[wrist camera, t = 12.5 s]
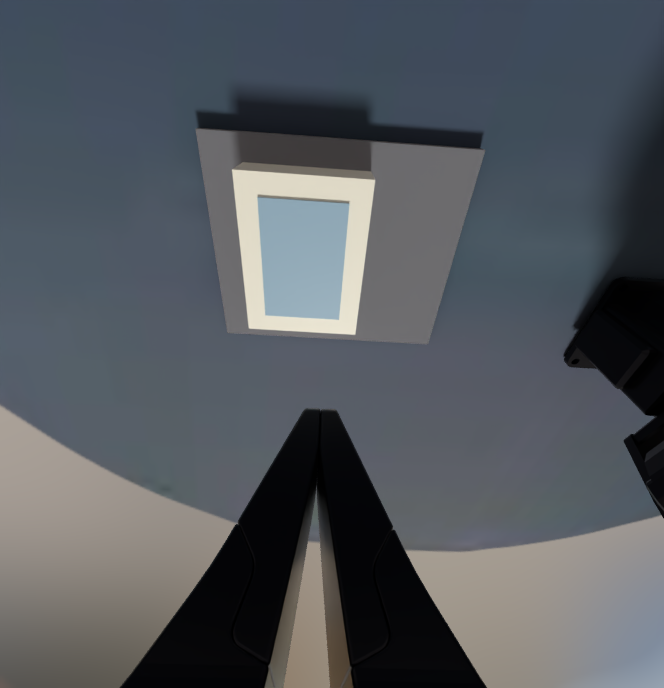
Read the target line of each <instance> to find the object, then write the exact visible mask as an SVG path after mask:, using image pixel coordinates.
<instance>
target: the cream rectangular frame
mask: <svg viewBox="0 0 664 688" xmlns="http://www.w3.org/2000/svg"><path fill="white" fill-rule="evenodd" d="M232 175H233V184H234V193H235V203H236V212H237V222H238V231H239V241H240V250H241V259H242V269H243V278H244V288H245V297H246V307H247V316H248V326H249V329H264V330H281V331H298V332H315V333H332V334H350V335H355V333H356V325H357V317H358V310H359V302H360V294H361V286H362V279H363V271H364V263H365V256H366V248H367V240H368V232H369V225H370V217H371V209H372V202H373V194H374V186H375V178H374V176H373V174H372V172H371V171H358V170H344V169H330V168H317V167H303V166H289V165H276V164H262V163H248V162H242V163H241V164H239V165H238V166H236V167H235V168H233V169H232Z"/></svg>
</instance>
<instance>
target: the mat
mask: <svg viewBox="0 0 664 688" xmlns="http://www.w3.org/2000/svg"><path fill="white" fill-rule="evenodd" d="M196 135H197V141H198V147H199V154H200V160H201V167H202V173H203V179H204V186H205V192H206V199H207V205H208V211H209V218H210V224H211V231H212V237H213V243H214V250H215V256H216V263H217V269H218V275H219V282H220V288H221V295H222V301H223V307H224V314H225V320H226V327H227V333H238V334H256V335H273V336H291V337H309V338H326V339H344V340H362V341H379V342H397V343H415V344H428V342H429V339H430V336H431V332H432V329H433V325H434V322H435V319H436V315H437V312H438V309H439V305H440V302H441V298H442V295H443V292H444V288H445V285H446V281H447V278H448V275H449V271H450V268H451V265H452V261H453V258H454V254H455V251H456V248H457V244H458V241H459V238H460V234H461V231H462V227H463V224H464V221H465V217H466V214H467V211H468V207H469V204H470V200H471V197H472V194H473V190H474V187H475V184H476V180H477V177H478V173H479V170H480V167H481V163H482V160H483V156H484V153H485V150H483V149H479V148H466V147H452V146H439V145H425V144H412V143H398V142H385V141H371V140H358V139H345V138H331V137H318V136H304V135H291V134H277V133H264V132H250V131H237V130H223V129H210V128H197V129H196ZM242 162H248V163H262V164H276V165H289V166H303V167H317V168H330V169H344V170H358V171H371V172H372V174H373V176H374V178H375V186H374V194H373V202H372V209H371V217H370V225H369V232H368V240H367V248H366V256H365V263H364V271H363V279H362V286H361V294H360V302H359V310H358V317H357V325H356V333H355V335H350V334H332V333H315V332H298V331H281V330H264V329H249V326H248V316H247V307H246V297H245V288H244V278H243V269H242V259H241V250H240V241H239V231H238V222H237V212H236V203H235V193H234V184H233V175H232V169H233V168H235V167H236V166H238V165H239V164H241V163H242Z"/></svg>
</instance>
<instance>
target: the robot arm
mask: <svg viewBox="0 0 664 688" xmlns="http://www.w3.org/2000/svg"><path fill="white" fill-rule="evenodd" d="M622 285H623V286H622ZM621 286H622V287H621ZM620 287H621V288H620ZM564 362H565V363H566V364H567V365H568V366H569V367H577V368H595V369H598V370H599V371H600V372H601V373H602V374H603V375H604V376H605V377H606V378H607V379H608V380H609V381H610V382H611V383H612V384H613V386H614V387H616V388H617V389H620V390H621V391H622V392H623V393H624V394H625V395H626V396H627V397H628V398H629V399H630V400H631V401H632V402H633V403H634V404H635V405H636V406H637V407H638V408H639V409H640V410H641V411H642V412H643V413H644V414H645V415H649V416H654V417H655V418H654V419H652V420H651V421H650V422H649V423H647V424H646V425H645V426H644V427H642V428H641V429H640V430H639V431H637V432H636V433H635V434H631V435H629V436H628V437H627V438H626V439H624V443H625V445H626V447H627V449H628V451H629V453H630V455H631V457H632V459H633V461H634V463H635V465H636V467H637V469H638V471H639V473H640V475H641V477H642V479H643V481H644V483H645V485H646V487H647V489H648V491H649V493H650V495H651V497H652V499H653V501H654V503H655V505H656V506H657V508H658V510H659V511H660V513H661V515H662V517H663V518H664V280H659V279H644V278H628V277H622V278H618V279H616V280H615V281H613V282H612V283H611V285H610V286H609V288H608V289H607V291H606V293H605V294H604V296H603V297H602V299H601V301H600V302H599V304H598V305H597V307H596V309H595V310H594V312H593V313H592V315H591V317H590V318H589V320H588V321H587V323H586V325H585V326H584V328H583V329H582V331H581V333H580V334H579V336H578V337H577V339H576V340H575V342H574V344H573V345H572V347H571V348H570V350H569V352H568V353H567V355H566V356H565V358H564ZM317 470H318V471H317ZM316 486H317V505H318V520H319V534H320V548H321V562H322V577H323V591H324V604H325V620H326V634H327V648H328V663H329V677H330V688H487V687H486V685H485V684H484V682H483V681H482V679H481V678H480V676H479V675H478V673H477V672H476V670H475V668H474V667H473V665H472V663H471V662H470V660H469V659H468V657H467V655H466V654H465V652H464V650H463V649H462V647H461V646H460V644H459V642H458V641H457V639H456V637H455V636H454V634H453V633H452V631H451V629H450V628H449V626H448V624H447V623H446V622H445V620H444V618H443V617H442V615H441V613H440V612H439V610H438V608H437V607H436V605H435V604H434V602H433V600H432V598H431V597H430V595H429V594H428V592H427V590H426V588H425V586H424V585H423V583H422V581H421V580H420V578H419V576H418V575H417V573H416V571H415V569H414V567H413V565H412V563H411V562H410V559H409V558H408V556H407V554H406V552H405V550H404V548H403V546H402V544H401V542H400V540H399V538H398V536H397V533H396V531H395V530H392V529H393V526H392V523H391V521H390V519H389V517H388V515H387V513H386V511H385V509H384V507H383V505H382V503H381V501H380V499H379V497H378V495H377V492H376V490H375V488H374V486H373V484H372V482H371V480H370V478H369V476H368V474H367V472H366V470H365V468H364V466H363V464H362V462H361V459H360V457H359V455H358V453H357V451H356V449H355V447H354V445H353V443H352V441H351V439H350V437H349V435H348V433H347V431H346V428H345V426H344V424H343V422H342V420H341V418H340V416H339V414H338V412H337V411H336V410H335V409H322V410H321V414H320V409H318V408H306V409H305V410H304V411H303V412H302V414H301V416H300V417H299V419H298V421H297V423H296V424H295V426H294V428H293V429H292V431H291V433H290V434H289V436H288V438H287V439H286V441H285V443H284V444H283V446H282V448H281V449H280V451H279V453H278V454H277V456H276V458H275V459H274V461H273V463H272V464H271V466H270V468H269V470H268V471H267V473H266V475H265V476H264V478H263V480H262V481H261V483H260V485H259V486H258V488H257V490H256V491H255V493H254V495H253V496H252V498H251V500H250V501H249V503H248V505H247V506H246V508H245V510H244V512H243V513H242V515H241V517H240V518H239V520H238V524H236V525H235V527H234V528H233V530H232V531H231V533H230V535H229V536H228V538H227V540H226V541H225V543H224V545H223V546H222V548H221V550H220V551H219V553H218V554H217V556H216V557H215V559H214V560H213V562H212V564H211V565H210V567H209V568H208V569H207V571H206V572H205V574H204V575H203V577H202V578H201V580H200V581H199V582H198V584H197V585H196V586H195V588H194V589H193V591H192V592H191V593H190V595H189V596H188V598H187V599H186V600H185V602H184V603H183V604H182V606H181V607H180V608H179V610H178V611H177V612H176V614H175V615H174V616H173V618H172V619H171V620H170V622H169V623H168V625H167V626H166V627H165V629H164V630H163V631H162V633H161V634H160V635H159V637H158V638H157V640H156V641H155V642H154V643H153V645H152V646H151V647H150V649H149V650H148V651H147V653H146V654H145V655H144V657H143V658H142V660H141V661H140V662H139V664H138V665H137V666H136V667H135V669H134V670H133V671H132V673H131V674H130V675H129V677H128V678H127V679H126V680H125V681H124V683H123V684H122V685H121V686H120V688H283V685H284V679H285V674H286V668H287V662H288V656H289V650H290V644H291V638H292V632H293V626H294V620H295V614H296V608H297V603H298V597H299V591H300V585H301V579H302V573H303V567H304V561H305V555H306V549H307V544H308V538H309V532H310V526H311V520H312V514H313V508H314V502H315V495H316Z"/></svg>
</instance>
